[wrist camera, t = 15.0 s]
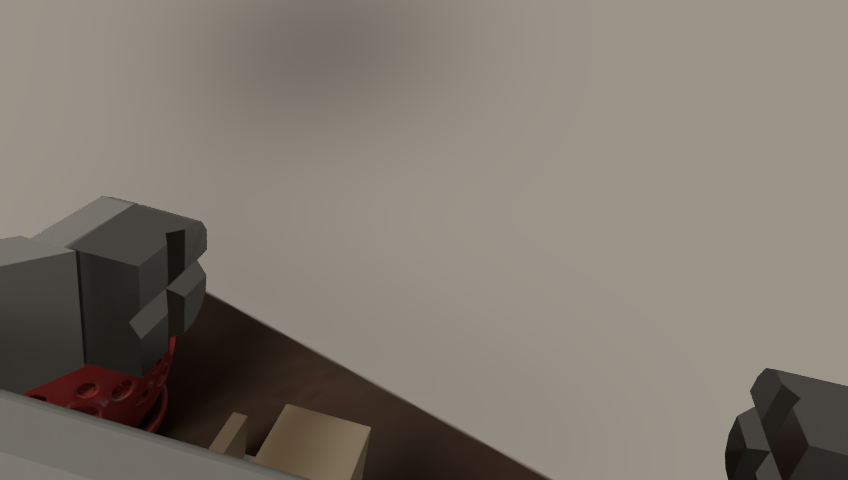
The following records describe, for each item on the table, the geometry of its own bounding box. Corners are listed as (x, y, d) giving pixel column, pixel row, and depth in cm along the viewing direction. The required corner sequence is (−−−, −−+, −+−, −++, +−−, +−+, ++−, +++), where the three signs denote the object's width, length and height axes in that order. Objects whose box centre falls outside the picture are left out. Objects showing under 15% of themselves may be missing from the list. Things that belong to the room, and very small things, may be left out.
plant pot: (-35, 388, 49) (-62, 245, 43) (157, 354, 56) (155, 225, 50) (-35, 532, 39) (-70, 372, 34) (196, 470, 46) (199, 327, 41)
